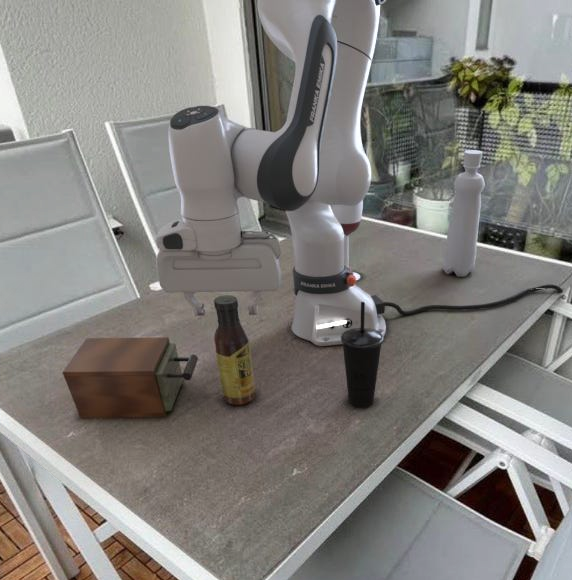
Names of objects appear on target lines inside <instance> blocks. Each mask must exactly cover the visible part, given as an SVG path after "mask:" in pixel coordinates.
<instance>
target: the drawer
mask: <svg viewBox="0 0 572 580" xmlns="http://www.w3.org/2000/svg"><path fill="white" fill-rule="evenodd" d="M198 360H199V358H198V355H196V354H190V355H189V356H188V357H187V356H186V357H185V356H184V357H182V356H181V357H179V354H178V349H177V344H176V343H173V342H172V343H171V342H170V343H169V345H168V347H167V349H166V351H165V354H164V356H163V357H162V359H161V361H160V363H159V365H158V368H157V370H156V372H155V375H156V379H157V383H158V386H159V390H160V394H161V397H162V401H163V405H164V409H165V411H167V412H171V411H172V410H173V407H174V405H175V402H176V399H177V396H178V394H179V391H180V389H181V386H182V383H183V381H184V380H185V381H190V380H191V379H192V378H193V374H194V371H195V368H196V366H197V363H198ZM181 362H186V365H185V367H184V370H183V371H182V367H181Z"/></svg>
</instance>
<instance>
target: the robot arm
mask: <svg viewBox="0 0 572 580" xmlns="http://www.w3.org/2000/svg"><path fill="white" fill-rule="evenodd" d="M386 1H387V0H257V3H256V5H257V6H256V7H257V12H258V16H259V20H260V23H261V25H262V28H263V30H264V32H265V34H266V35H267V37H268V38H269V39H270V41H271V42H272V43H273V45H274V46H275V47H276V48H277V49H278V50H279V51H280V52H281V53H283V55H285V56H286V57H287V58H289V60H291V61H293V63H294V64H295V74H294V77H293V78H294V79H293V84H292V90H291V94H290V101H289V104H288V105H289V106H288V111H287V115H286V121H285V123H284V125H283V126H282V127H281V128H279V130H277V131H270V130H269V131H268V130H262V129H257V128H253V127H247V126H245V125H243V124H239V123H237V122H234V121H232V120H230V119H229V118H228V117H226V116H225V115H223V114H222V112H221V111H220V109H218V108H217V107H215V106H211V105H197V106H190V107H187V108H184V109H182V110H179V111H177V112H176V113H175V114H174V115H173V116H172V117H171V118H170V120H169V123H168V131H167V132H168V133H167V134H168V135H167V137H168V139H167V141H168V150H169V157H170V164H171V168H172V170H171V171H172V174H173V179H174V184H175V187H176V189H177V190H178V193H179V196H180V214H181V218H178V219H176V220H173V221H171V222H168V223H166V224H165V225H163V227H161V228H160V230H159V231H158V233H157V234H156V236H155V243H156V247H157V249H158V250H159V251H158V252H157V254H156V260H155V263H156V270H157V271H156V272H157V280H158V283H159V286H160V288H161V289H162V290H163V291H164V292H166V293H183V297H184V299H185V301H186V302H187V303H188V304H189V305H190V306H191V307H192V308H193V312H194V316H195V317H203V316H205V314H206V310H205V308H204V307H205V303H204V302H199V301H198V299H197V298H196V296H195V293H219V292H223V293H224V292H225V293H226V292H229V293H230V292H252V296H253V298H254V300H253V301H249V302H248V305H247V308H248V315H249V316H258V315H259V305H258V304H259V303H260V301H261V299H262V296H263V292H276V291H278V289H279V288H280V287H281V285H282V281H283V280H282V271H281V266H280V265H281V264H280V260H279V258H280V256H281V253H282V252H281V242H280V240H279V238H278V237H277V236H276V235H275V234H273V233H271V232H270V231H268V230H261V231H254V230H242V224H241V218H240V217H241V216H240V211H239V205H238V202H237V201H238V199H240V198H246V199H249V200H252V201H257V202H261V203H266V204H267V205H270V206H273V207H275V208H278V209H279V210H283V211H285V213H286V216H287V220H288V223H289V227H290V232H291V239H292V240H291V241H292V252H293V264H294V266H293V267H292V287H293V292H294V297H295V299H294V312H293V319H292V323H291V327H290V328H291V331H292V333H293V334H294V335H295V336H296V337H298V338H300V339H302V340H303V339H304V340H306V341H308V342H309V341H310V342H311V343H312V344H314V345H315V346H318V347H326V346H327V347H328V346H336V345H337V346H338V345H343V343H342V341H341V335H342V334H343V333H344V332H345V331H347V330H350V329H353V328H360V327H361V302H365V319H364V328H370V329H374V330H377V331H379V332H380V333H381V334H382V335H383V338H384V337H385V336H386V333H387V325H386V324H387V323H386V321H385V318H384V316H383V315H382V314H385V312H386V311H385V310H386V307H389V308H394V309H395V310H396V311H397V312H398V313H399V315H402V316H411V315H416V314H419V313H422V312H424V311H429V310H449V311H453V310H454V311H464V310H467V311H468V310H479V309H480V310H481V309H488V308H493V307H497V306H500V305H505V304H506V303H509V302H512V301H514V300H517V299H519V298H521V297H522V296H524V295H526V294H529V293H533V292H537V291H543V289H536V288H545V289H544V290H547V289H548V290H549V289H553V290H555V291H557V292H558V293H563V289H562V288H561V287H560V286H559V285H556V284H551V283H550V284H542V285H538V286H534V287H529V288H526V289H524V290H521V291H520V292H518V293H517V294H514V295H511V296H509V297H506V298H503V299H501V300H497V301H493V302H488V303H481V304H480V303H479V304H468V305H466V304H465V305H451V304H450V305H449V304H448V305H447V304H429V305H424V306H421V307H418V308H416V309H413V310H403V309H402V307H401V306H400V305H398V304H397V303H394V302H390V301H384V300H383V299H381V298H380V297H379V296H378V295H376V294H374V295H370V294H369V293H368V292H366V291H365V290H364V289H362V288H361V287H359V285H356V283H357V280H356V278H355V276H354V275H353V272H354V271H353V270H352V267H351V266H350V265H349V268H348V267H346V264H345V234H344V232H343V228H342V226H341V224H340V223H339V222H338V220H337V219H336V217H335V216H334V213H333V211H332V206H336V207H346V206H355V205H357V204H358V203H360V202H361V201H362V200H363V201H364V199H365V197H366V196H367V194H368V192H369V190H370V187H371V183H372V166H371V162H370V160H369V157H368V156H367V154H366V152H365V149H364V146H363V141H362V140H363V139H362V133H361V131H362V130H361V118H362V117H361V116H362V107H363V101H364V97H365V92H366V89H367V83H368V79H369V75H370V72H371V71H370V70H371V66H372V62H373V58H374V55H375V49H376V43H377V38H378V31H379V25H380V15H381V5H383V4H385V2H386ZM531 289H532V290H531Z"/></svg>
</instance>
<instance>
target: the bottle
mask: <svg viewBox="0 0 572 580" xmlns="http://www.w3.org/2000/svg"><path fill="white" fill-rule="evenodd" d="M483 152H484V151H481V150H476V149H468V150H465V151H464V155H463V156H464V157H463V165H462V167H464V170H465V171H464V172H461V173H459V174H458V175H457V176H456V177H455V180H454V182H453V189H454V192H455V193H454V196H453V200H452V204H451V211H450V216H449V223H448V229H447V235H446V241H445V246H444V250H443V256H442V264H441V265H442V268H443V270H444V272H445V274H447V275H451V274H453V273H454V274H455V275H456V277H459V278H460V277H466V276H468V274H469V273H471V272H472V271H473V270H474V269H475V265H476V264H475V263H476V258H477V252H478V251H477V249H478V248H477V247H478V246H477V245H478V234H479V225H480V216H481V206H482V201H481V200H482V196H481V195H482V192H483V191H484V188H485V186H486V183H485V179H484V176H483V175H482V174H481V173H478V170H479V169H480V168H481V167H482V166H481V162H482V158H483V154H484V153H483Z"/></svg>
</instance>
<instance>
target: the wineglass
mask: <svg viewBox="0 0 572 580" xmlns="http://www.w3.org/2000/svg"><path fill="white" fill-rule="evenodd" d="M363 208H364V199H363V200H362V201H361V202H360V203H358V204H357V205H355V206H346V207H336V206H331V209H332V211H333V213H334V216H335V217H336V219H337V220H338V222H339V223H340V224H341V226H342V228H343V232H344V236H345V266H346V267H348V268H349V266H350V265H349V255H350V254H349V252H350V251H349V248H350V247H349V245H350V243H349V241H350V239H349V238H350V237H349V235H351V234H353V233H354V232H355V231H357V229H358V228H359V227H360V225H361V222H362V216H363ZM353 275H354V276H355V278H356V281H358V280H360V279H361V275H360V274H359V273H358V272H354V271H353Z"/></svg>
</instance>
